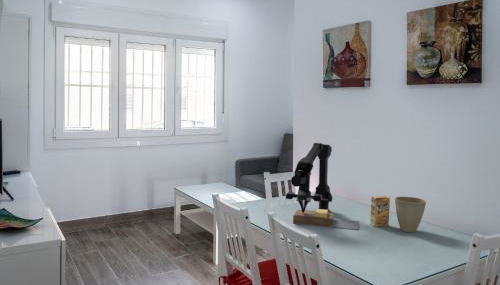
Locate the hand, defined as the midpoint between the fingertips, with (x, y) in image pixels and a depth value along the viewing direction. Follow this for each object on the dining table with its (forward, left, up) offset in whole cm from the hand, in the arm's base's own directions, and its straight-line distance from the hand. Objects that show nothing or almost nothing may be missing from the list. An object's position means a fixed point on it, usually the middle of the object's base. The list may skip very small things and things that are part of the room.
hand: (303, 212), depth 229 cm
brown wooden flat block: (0, +6, -4) cm, 7 cm away
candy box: (-5, +40, -5) cm, 40 cm away
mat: (0, +23, -4) cm, 23 cm away
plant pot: (-1, +54, -5) cm, 54 cm away
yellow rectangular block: (0, +10, 0) cm, 10 cm away
